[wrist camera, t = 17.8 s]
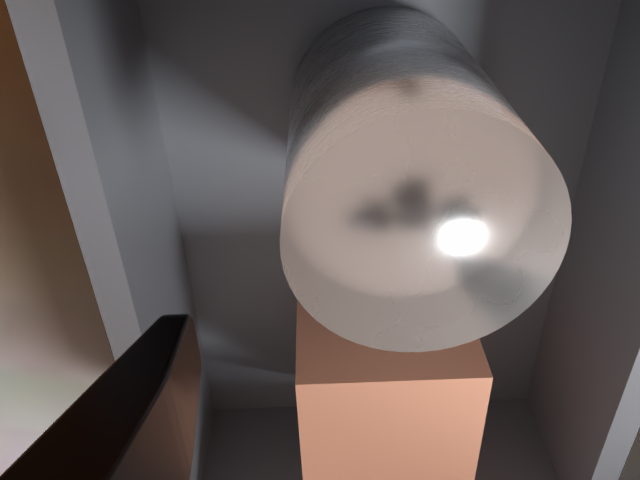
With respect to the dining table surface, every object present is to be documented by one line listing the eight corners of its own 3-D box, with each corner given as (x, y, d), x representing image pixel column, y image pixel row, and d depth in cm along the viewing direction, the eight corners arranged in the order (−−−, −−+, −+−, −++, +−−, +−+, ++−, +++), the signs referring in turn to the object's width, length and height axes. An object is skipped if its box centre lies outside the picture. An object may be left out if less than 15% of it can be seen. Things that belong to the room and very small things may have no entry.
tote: (536, 396, 24) (595, 535, 19) (199, 407, 24) (172, 550, 19) (664, -110, 14) (851, -88, 9) (96, -91, 14) (-13, -58, 9)
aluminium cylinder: (469, 177, 17) (550, 343, 12) (300, 190, 18) (294, 360, 12) (482, -2, 15) (595, 96, 9) (281, 14, 15) (261, 121, 9)
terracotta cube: (440, 371, 22) (471, 495, 18) (305, 376, 22) (304, 501, 18) (452, 262, 19) (493, 377, 15) (297, 267, 19) (295, 384, 15)
